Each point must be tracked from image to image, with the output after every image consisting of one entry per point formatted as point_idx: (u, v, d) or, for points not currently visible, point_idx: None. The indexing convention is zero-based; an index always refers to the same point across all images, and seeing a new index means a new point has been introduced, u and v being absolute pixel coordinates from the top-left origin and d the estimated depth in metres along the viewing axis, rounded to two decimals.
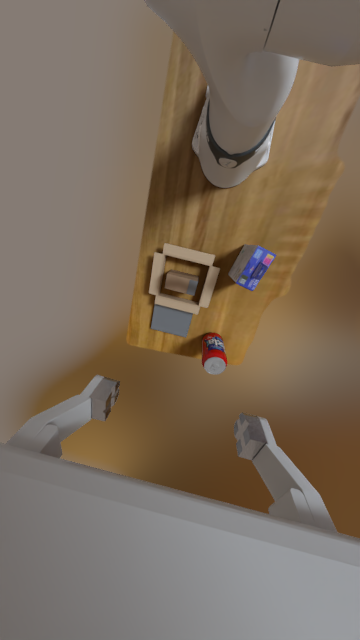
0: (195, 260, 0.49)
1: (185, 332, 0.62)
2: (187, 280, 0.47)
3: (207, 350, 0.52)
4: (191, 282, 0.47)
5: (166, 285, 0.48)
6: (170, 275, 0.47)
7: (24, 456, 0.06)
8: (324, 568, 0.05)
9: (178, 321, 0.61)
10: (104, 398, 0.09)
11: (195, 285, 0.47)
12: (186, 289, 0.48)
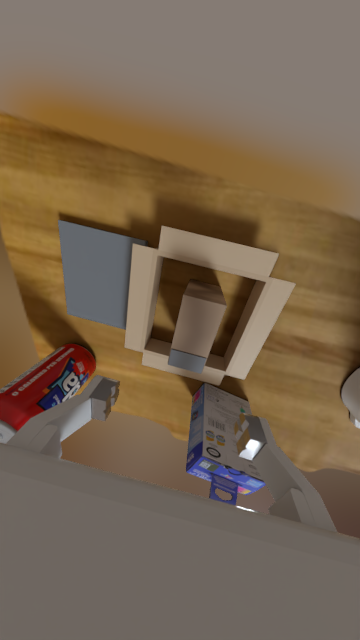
0: (240, 348, 0.23)
1: (79, 313, 0.27)
2: (204, 353, 0.19)
3: (38, 397, 0.22)
4: (200, 360, 0.19)
5: (191, 301, 0.16)
6: (220, 314, 0.17)
7: (24, 456, 0.06)
8: (324, 568, 0.05)
9: (99, 299, 0.26)
10: (104, 398, 0.09)
11: (191, 368, 0.20)
12: (182, 349, 0.19)
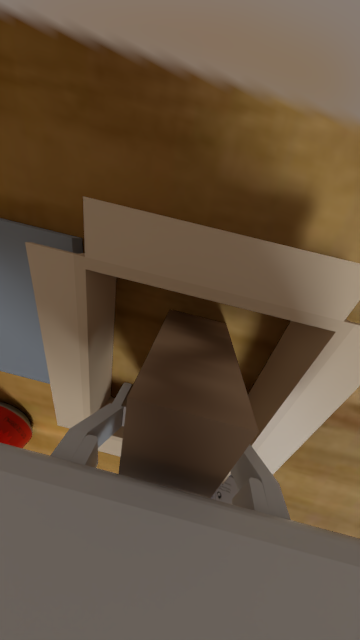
0: (263, 439, 0.12)
1: None
2: None
3: None
4: None
5: (153, 413, 0.06)
6: (237, 445, 0.06)
7: (24, 456, 0.06)
8: (324, 568, 0.05)
9: (11, 341, 0.15)
10: None
11: None
12: None
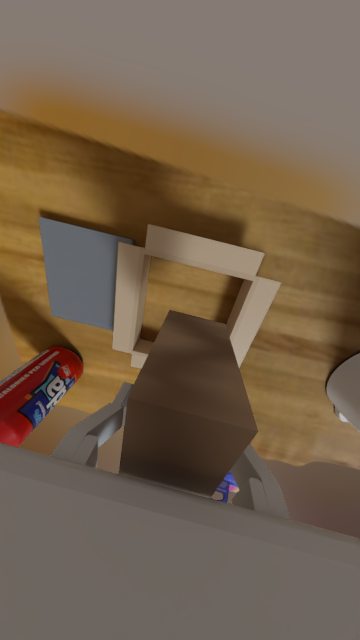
0: None
1: (64, 314, 0.26)
2: None
3: (19, 403, 0.21)
4: None
5: (153, 413, 0.06)
6: (236, 445, 0.06)
7: (24, 456, 0.06)
8: (324, 568, 0.05)
9: (85, 299, 0.25)
10: None
11: None
12: None
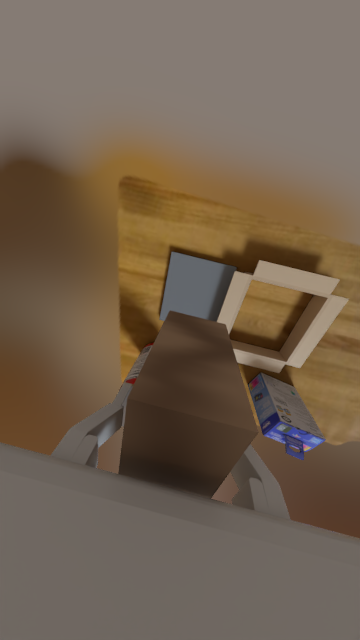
0: (301, 344, 0.32)
1: None
2: None
3: None
4: None
5: (153, 413, 0.06)
6: (236, 446, 0.06)
7: (24, 456, 0.06)
8: (324, 568, 0.05)
9: (189, 308, 0.34)
10: None
11: None
12: None
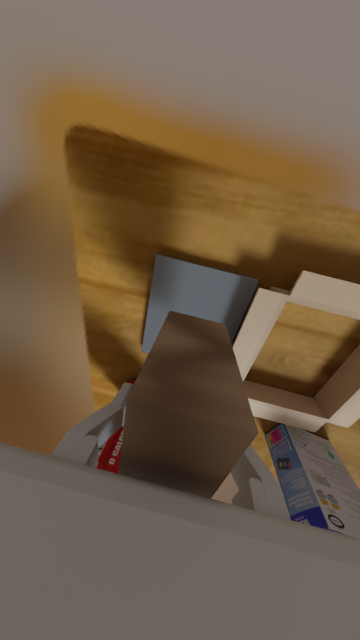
0: (355, 398, 0.20)
1: None
2: None
3: None
4: None
5: (153, 414, 0.06)
6: (236, 447, 0.06)
7: (24, 456, 0.06)
8: (324, 568, 0.05)
9: None
10: None
11: None
12: None
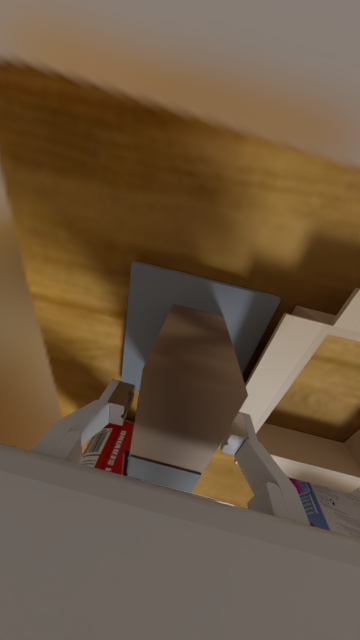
0: None
1: (139, 387, 0.19)
2: (196, 466, 0.09)
3: None
4: (188, 476, 0.10)
5: (163, 381, 0.07)
6: (231, 409, 0.07)
7: (24, 456, 0.06)
8: (324, 568, 0.05)
9: None
10: (122, 403, 0.09)
11: (173, 484, 0.10)
12: (152, 457, 0.09)
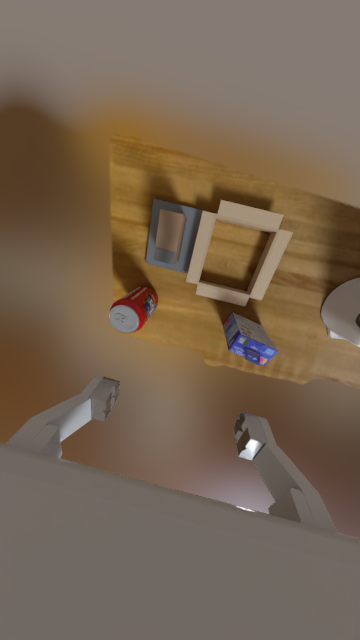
0: (260, 277, 0.38)
1: (154, 261, 0.42)
2: (174, 248, 0.33)
3: (142, 303, 0.36)
4: (172, 254, 0.33)
5: (165, 212, 0.31)
6: (180, 220, 0.31)
7: (24, 456, 0.06)
8: (324, 568, 0.05)
9: None
10: (104, 398, 0.09)
11: (167, 261, 0.34)
12: (161, 247, 0.33)
